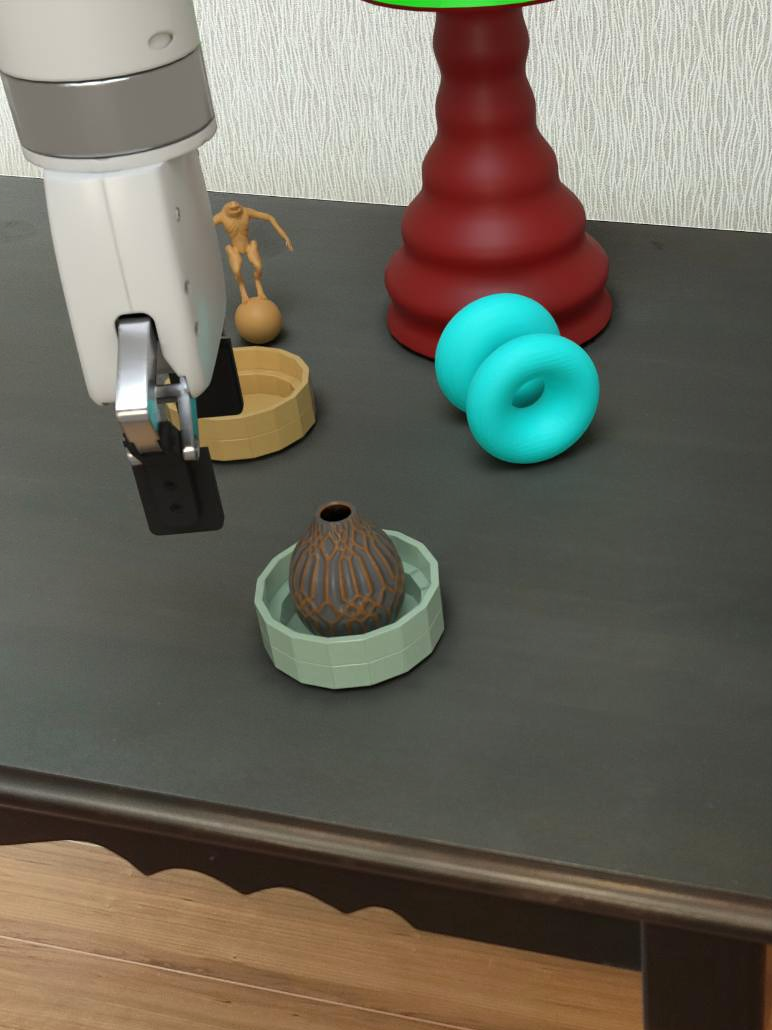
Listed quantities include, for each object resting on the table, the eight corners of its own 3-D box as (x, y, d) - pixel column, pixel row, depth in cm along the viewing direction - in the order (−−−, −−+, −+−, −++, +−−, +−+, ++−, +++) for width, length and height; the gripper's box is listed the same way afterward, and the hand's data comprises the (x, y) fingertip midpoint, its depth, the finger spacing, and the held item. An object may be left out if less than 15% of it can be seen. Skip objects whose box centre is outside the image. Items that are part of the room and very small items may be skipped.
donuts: (479, 485, 92) (469, 362, 86) (436, 419, 99) (423, 302, 93) (606, 452, 95) (605, 331, 89) (555, 390, 102) (550, 274, 96)
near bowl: (259, 702, 75) (247, 650, 73) (272, 585, 84) (262, 536, 81) (448, 683, 76) (441, 631, 73) (441, 569, 84) (435, 519, 82)
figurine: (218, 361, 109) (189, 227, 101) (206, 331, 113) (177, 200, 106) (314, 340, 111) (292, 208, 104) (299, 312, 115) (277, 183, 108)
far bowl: (164, 471, 95) (152, 425, 93) (183, 396, 104) (172, 352, 102) (313, 457, 96) (305, 411, 93) (319, 384, 105) (311, 340, 102)
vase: (356, 680, 76) (335, 562, 70) (275, 636, 79) (250, 521, 74) (433, 617, 80) (419, 501, 75) (353, 578, 83) (334, 465, 78)
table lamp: (615, 367, 105) (609, -286, 78) (374, 374, 106) (285, -270, 79) (609, 264, 121) (602, -310, 94) (400, 270, 121) (333, -296, 94)
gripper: (59, 45, 57) (147, 384, 67) (-45, 193, 43) (86, 591, 53) (231, 33, 57) (292, 371, 67) (182, 175, 43) (268, 574, 53)
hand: (201, 468), depth 60 cm, fingers open, 9 cm apart
